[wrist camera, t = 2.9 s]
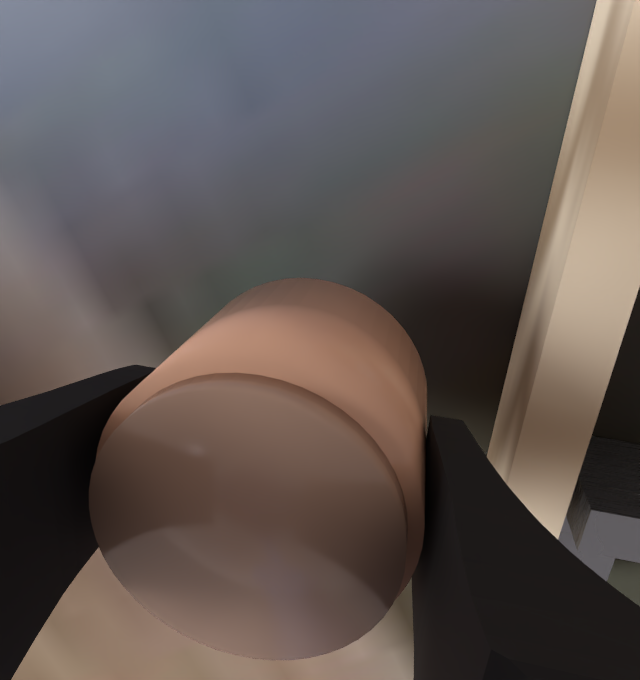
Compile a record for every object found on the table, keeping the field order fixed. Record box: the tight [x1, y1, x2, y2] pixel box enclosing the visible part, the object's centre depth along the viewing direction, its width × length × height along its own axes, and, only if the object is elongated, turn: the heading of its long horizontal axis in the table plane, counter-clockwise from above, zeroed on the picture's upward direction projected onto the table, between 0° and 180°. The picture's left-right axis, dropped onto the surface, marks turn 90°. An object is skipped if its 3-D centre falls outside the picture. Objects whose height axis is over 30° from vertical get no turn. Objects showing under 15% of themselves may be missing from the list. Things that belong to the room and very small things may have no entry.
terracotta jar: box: [89, 278, 427, 660], centre depth 11 cm, size 6×6×5 cm
